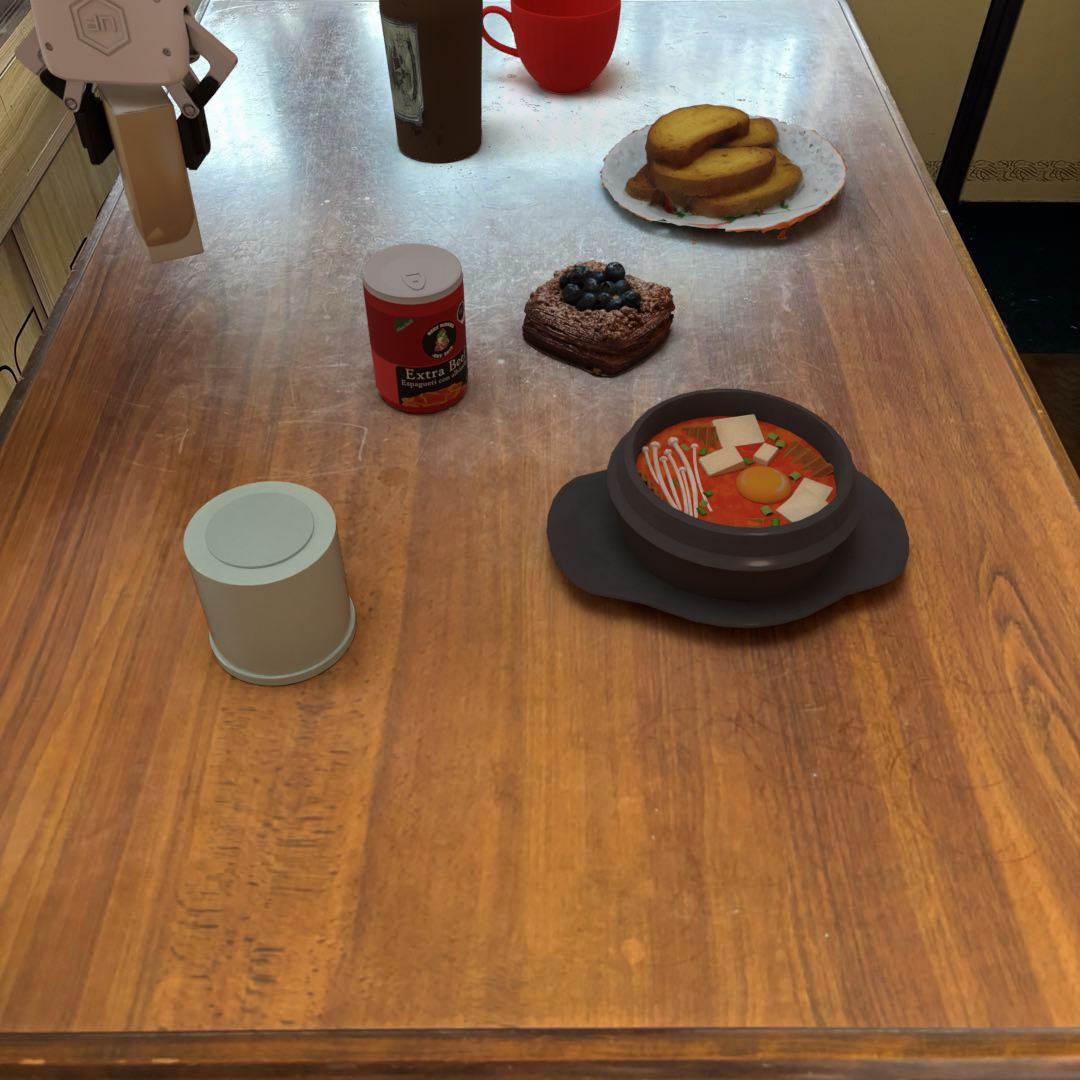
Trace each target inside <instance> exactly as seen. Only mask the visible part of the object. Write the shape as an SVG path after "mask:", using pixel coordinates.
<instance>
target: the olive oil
mask: <svg viewBox="0 0 1080 1080" xmlns="http://www.w3.org/2000/svg"><path fill="white" fill-rule="evenodd" d="M378 9H379V16H380V23H381V30H382V36H383V43H384V51H385V56H386V57H385V58H386V63H387V64H386V65H387V70H388V71H387V73H388V79H389V86H390V94H391V101H392V109H393V115H394V124H395V132H396V140H397V141H396V142H397V146H398V149H399V150H400V152H401V153H402V154H404V155H405V156H407V157H408V158H411V159H413V160H416V161H420V162H426V163H427V162H428V163H449V162H455V161H459V160H462V159H463V160H464V159H466V158H468V157H471V156H472V155H474V154H475V153H477V152H478V151H479V149H480V148H481V147H482V144H483V127H482V126H483V120H482V119H483V117H482V114H483V113H482V111H483V109H482V108H483V106H482V105H483V104H482V100H483V99H482V98H483V97H482V96H483V95H482V94H483V93H482V92H483V90H482V89H483V86H482V84H483V83H482V82H483V37H482V29H483V24H484V19H483V9H484V0H378Z"/></svg>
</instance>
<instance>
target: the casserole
mask: <svg viewBox="0 0 1080 1080" xmlns="http://www.w3.org/2000/svg"><path fill="white" fill-rule="evenodd" d="M546 519H547V521H546V539H547V541H548V545H549V550H550V554H551V556H552V557H553V559H554V561H555V563H556V565H557V567H558V569H559V570H560V571H561V573H562V574H563V575H564V576H565V577H566V578H567V580H569V581H570V583H571V584H573V585H574V586H576V587H577V588H580V589H581V590H583V591H585V592H586V593H588V594H589V595H596V596H600V597H605V598H611V599H614V600H615V599H616V600H620V601H626V602H632V603H636V604H641V605H643V606H648V607H650V608H653V609H657V610H659V611H662V612H664V613H667V614H670V615H674V616H677V617H679V618H683V619H685V620H689V621H691V622H694V623H700V624H703V625H709V626H715V627H722V628H741V629H742V628H743V629H756V628H763V627H772V626H780V625H781V626H782V625H784V624H787V623H791V622H794V621H797V620H801V619H805V618H808V616H809V617H810V616H811V615H813V614H814V613H817V612H818V611H821V610H822V609H824V608H826V607H828V606H830V605H833V604H834V603H836V602H837V601H839V600H842V599H843V598H845V597H848V596H850V595H853V594H857V593H861V592H863V591H864V592H865V591H868V590H871V589H874V588H877V587H880V586H882V585H885V584H888V583H891V582H893V581H895V580H896V578H897V577H899V576H900V575H901V574H902V573H903V572H904V571H905V569H906V567H907V563H908V561H909V558H910V536H909V534H908V530H907V526H906V523H905V519H904V517H903V516H902V514H901V512H900V510H899V509H898V507H897V505H896V504H895V502H894V501H893V500H892V498H890V496H889V495H888V494H887V493H886V492H885V490H883V488H882V487H881V486H879V485H878V483H876V482H874V481H873V480H872V479H871V478H870V477H868V476H867V475H866V474H864V473H863V472H862V471H859V470H858V469H857V467H856V465H855V464H854V461H853V457H852V452H851V451H850V449H849V447H848V445H847V444H846V442H845V440H844V438H843V437H842V436H841V435H840V434H839V433H838V431H837V430H835V428H834V427H833V426H832V425H831V424H830V423H828V421H826V420H824V419H823V418H822V417H821V416H820V415H818V414H817V413H815V412H813V411H811V410H810V409H808V408H806V407H805V406H803V405H801V404H798V403H796V402H793V401H791V400H788V399H786V398H783V397H781V396H777V395H773V394H771V393H770V394H769V393H767V392H762V391H757V390H748V389H743V388H742V389H741V388H719V387H717V388H709V389H698V390H694V391H689V392H685V393H680V394H677V395H675V396H672V397H670V398H666V399H665V400H662V401H659V402H658V403H657V404H655V405H654V406H652V407H650V408H649V409H647V410H646V411H644V412H643V414H641V415H640V416H639V417H638V418H637V419H635V421H634V423H633V425H632V426H631V428H630V429H629V430H628V431H627V432H626V433H625V434H624V435H623V436H622V437H621V438H620V439H619V441H618V443H617V444H616V445H615V447H614V448H613V450H612V452H611V454H610V458H609V461H608V464H607V467H606V469H602V470H599V471H594V472H590V473H586V474H582V475H578V476H576V477H574V478H572V479H571V480H569V481H567V482H566V483H565V484H563V485H562V486H561V488H560V489H559V490H558V491H557V493H556V494H555V496H554V497H553V498H552V502H551V504H550V507H549V510H548V513H547V518H546Z"/></svg>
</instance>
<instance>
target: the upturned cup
mask: <svg viewBox="0 0 1080 1080" xmlns="http://www.w3.org/2000/svg"><path fill="white" fill-rule="evenodd" d="M182 542H183V543H182V544H183V546H182V547H183V552H184V555H185V558H186V561H187V565H188V567H189V571H190V574H191V577H192V580H193V584H194V586H195V589H196V594H197V596H198V600H199V603H200V606H201V609H202V612H203V615H204V619H205V622H206V624H207V625H206V626H207V628H208V639H209V644H210V648H211V652H212V654H213V656H214V658H215V660H216V662H217V663H218V665H219V666H220V667H221V668H222V669H223V670H224V671H225V672H227V673H228V674H229V675H231V676H232V677H234V678H236V679H237V680H240V681H243V682H245V683H248V684H253V685H258V686H265V687H266V686H268V687H272V686H273V687H277V686H287V685H292V684H297V683H300V682H304V681H306V680H309V679H312V678H314V677H317V676H318V675H320V674H322V673H324V672H326V671H327V670H328V669H329V668H331V667H332V666H334V665H335V664H336V663H337V662H338V661H339V660H340V659H341V658H342V657H343V656H344V655H345V654H346V652H347V651H348V649H349V648H350V646H351V644H352V642H353V641H354V637H355V635H356V629H357V615H356V609H355V604H354V602H353V599H352V597H351V596H350V593H349V586H348V581H347V575H346V570H345V563H344V559H343V553H342V545H341V541H340V536H339V530H338V524H337V518H336V515H335V512H334V509H333V507H332V506H331V504H330V503H329V501H327V499H326V498H325V497H324V496H322V495H321V494H320V493H319V492H318V491H315V490H314V489H312V488H309V487H307V486H305V485H301V484H299V483H294V482H289V481H282V480H281V481H280V480H268V481H256V482H250V483H247V484H243V485H239V486H236V487H233V488H231V489H228V490H225V491H223V492H221V493H219V494H218V495H216V496H215V497H213V498H211V499H210V500H208V501H207V502H205V503H204V504H203V505H202V506H201V507H199V509H198V510H197V511H196V512H195V513H194V515H193V516H192V517H191V519H190V520H189V521H188V524H187V526H186V528H185V531H184V534H183V540H182Z"/></svg>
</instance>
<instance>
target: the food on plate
mask: <svg viewBox="0 0 1080 1080" xmlns="http://www.w3.org/2000/svg"><path fill="white" fill-rule="evenodd" d="M602 162H603V164H604V165H603V166H602V168H601V169H600V171H599V174H600V179H601V181H602V184H601V186H602V187H603V188H604V189H605V188H606V189H607V191H608V192H609V194H610V196H611V197H612V198H613V201H615V202H617V203H618V207H620V208H622V209H624V210H627V211H629V213H631V214H634V215H635V216H636V217H639V218H641V219H645V220H646V221H647V222H650V223H651V222H660V223H667V224H673V225H676V226H679V227H681V226H688V227H695V228H702V229H725V230H724V232H736V233H743V232H749V231H751V232H752V231H755V232H756V233H757V232H759V231H761V233H762V234H765V233H766V232H768V231H771V230H781V232H780V233H779V234H778V235H776V236H775V238H776V239H778V240H786V231H787V230H788V228H790V227H792V226H793V225H794V224H796V223H797V222H799V223H801V222H802V221H803V220H805V219H806V218H808V217H809V216H811V215H815V214H816V213H818V212H820V211H821V210H823V207H824V206H827V205H829V204H830V201H832V200H835V199H836V198H837V196H838V194H841V193H842V190H843V189H844V185H845V184H846V176H847V171H849V170H848V166H847V165H846V163H845V162H846V161H845V158H844V156H842V155H841V152H840V151H839V150H838V149H837V148H836V147H835V146H834V145H833V144H832V143H831V141H830V140H828V139H824V138H823V137H822V136H821V135H820V134H819V133H818V132H817V131H816V130H815V129H807V128H805V127H803V126H801V125H799V124H796V123H790V124H788V123H786V122H785V121H780V120H779V119H778V118H774V117H768V116H763V115H757V114H756V115H752V114H749V113H747V112H745V111H743V110H742V109H740V108H737V107H734V106H728V105H718V104H717V105H716V104H710V103H703V104H694V105H689V106H683V107H678V108H676V109H673V110H671V111H669V112H668V113H664V114H662V115H660V117H658V118H657V119H656V120H655V121H654V122H653V123H652V124H645V126H644V127H643V128H642V127H641V128H640V129H634V130H632V132H631V133H629V134H627V135H626V136H625V137H623V138H622V139H621V140H620V141H619V142H617V143H616V144H614V146H613V147H612V148H611V149H610V150H609V151H608V154H606V155H605V157H604V158H603V159H602ZM664 220H665V221H664ZM782 229H783V230H782ZM697 244H698V243H697V242H696V241H694V242H691V245H697Z"/></svg>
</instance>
